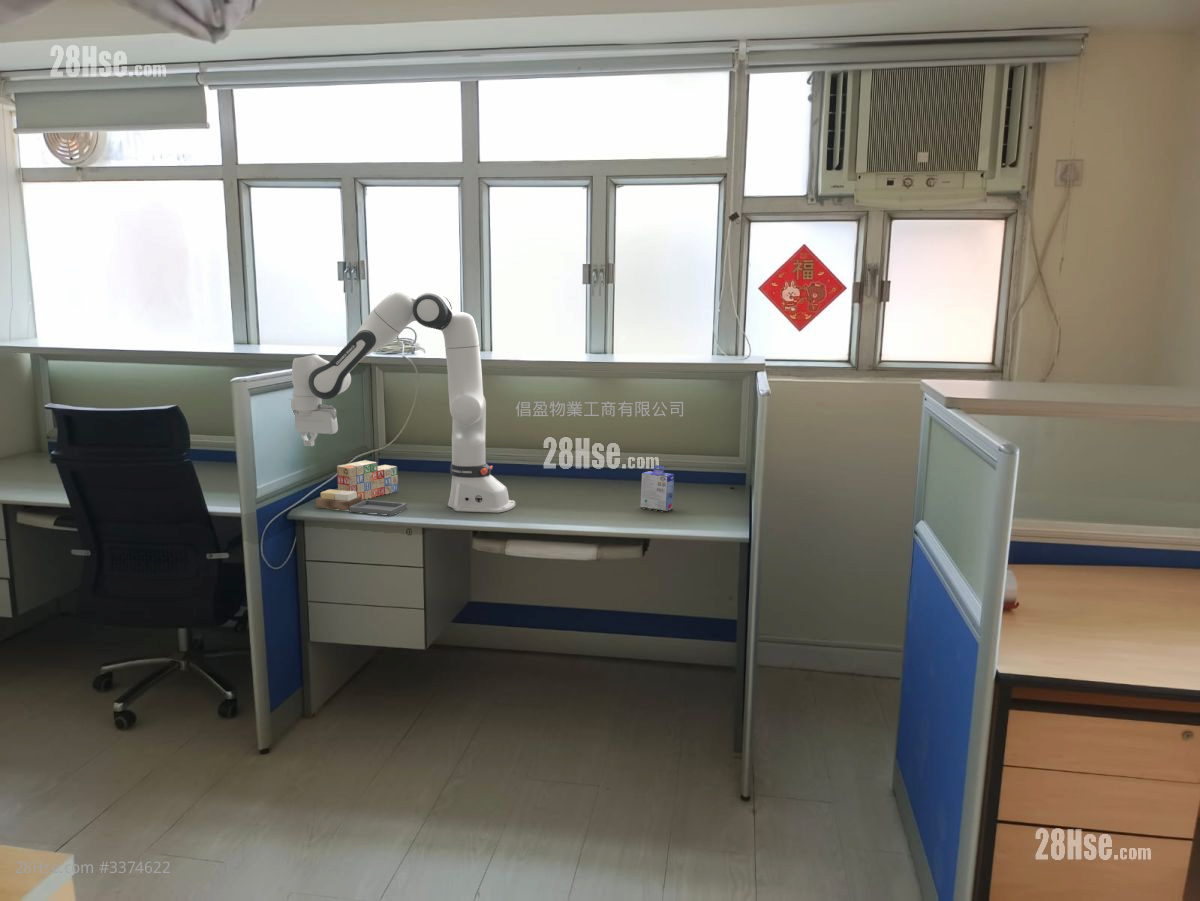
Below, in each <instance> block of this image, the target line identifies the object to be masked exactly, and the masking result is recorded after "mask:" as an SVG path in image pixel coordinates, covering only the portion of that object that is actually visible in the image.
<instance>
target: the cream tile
mask: <svg viewBox="0 0 1200 901" xmlns="http://www.w3.org/2000/svg"><path fill="white" fill-rule="evenodd" d="M354 498H357V492H355V491H344V490H343V491H340V492H338V493H335V500H343V501H349V500H352V499H354Z"/></svg>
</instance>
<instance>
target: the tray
mask: <svg viewBox="0 0 1200 901" xmlns="http://www.w3.org/2000/svg"><path fill="white" fill-rule="evenodd" d="M404 509H405V510H408V504H407V503H405V502H394V501H385V500H384V501H381V500H374V499H366V500H362V502H360V503H357V504H355V505H352V506H350V507H349V511H348V512H350V511H351V512H350V513H352V512H362V513H361V514H363V513H377V514H387V515H393V514H395V513H397V514H399V513H401V512H403V511H405V510H404ZM402 510H403V511H402ZM400 511H401V512H400ZM398 512H399V513H398ZM395 515H396V514H395ZM393 516H394V515H393Z"/></svg>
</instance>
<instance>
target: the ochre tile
mask: <svg viewBox="0 0 1200 901" xmlns="http://www.w3.org/2000/svg"><path fill="white" fill-rule="evenodd" d="M340 491H343V490H338V489H332V488H329V489H326V490H323V491H321V492H320V497H321V499H332V500H335V493H338V492H340Z"/></svg>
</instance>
